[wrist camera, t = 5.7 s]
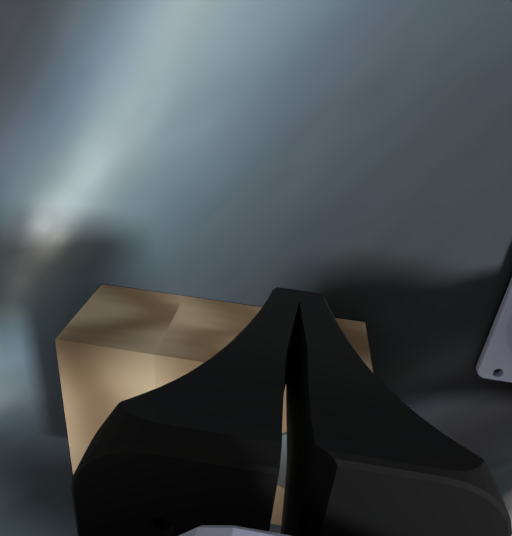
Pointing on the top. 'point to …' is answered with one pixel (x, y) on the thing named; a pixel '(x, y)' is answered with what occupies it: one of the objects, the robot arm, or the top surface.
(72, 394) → the socket block
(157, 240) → the top surface
